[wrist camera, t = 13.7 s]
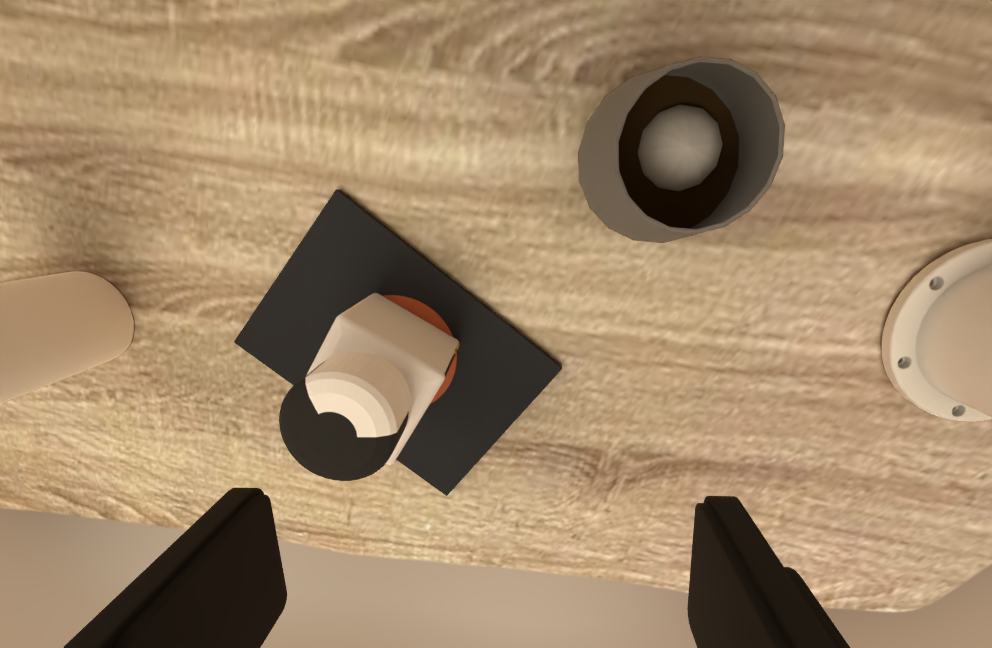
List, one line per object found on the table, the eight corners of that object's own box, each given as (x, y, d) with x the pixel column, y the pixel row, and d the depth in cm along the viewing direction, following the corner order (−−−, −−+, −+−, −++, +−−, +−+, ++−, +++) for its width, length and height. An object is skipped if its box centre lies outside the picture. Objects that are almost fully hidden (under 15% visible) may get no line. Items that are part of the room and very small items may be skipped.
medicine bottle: (415, 417, 36) (364, 522, 24) (331, 370, 35) (238, 454, 24) (462, 340, 34) (430, 414, 23) (374, 289, 34) (296, 338, 22)
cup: (672, 52, 29) (745, -19, 20) (744, 181, 31) (844, 174, 21) (543, 146, 31) (552, 123, 21) (618, 264, 33) (658, 291, 23)
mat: (562, 365, 35) (562, 368, 34) (447, 491, 38) (446, 496, 38) (339, 189, 33) (335, 189, 32) (238, 339, 36) (232, 342, 35)
